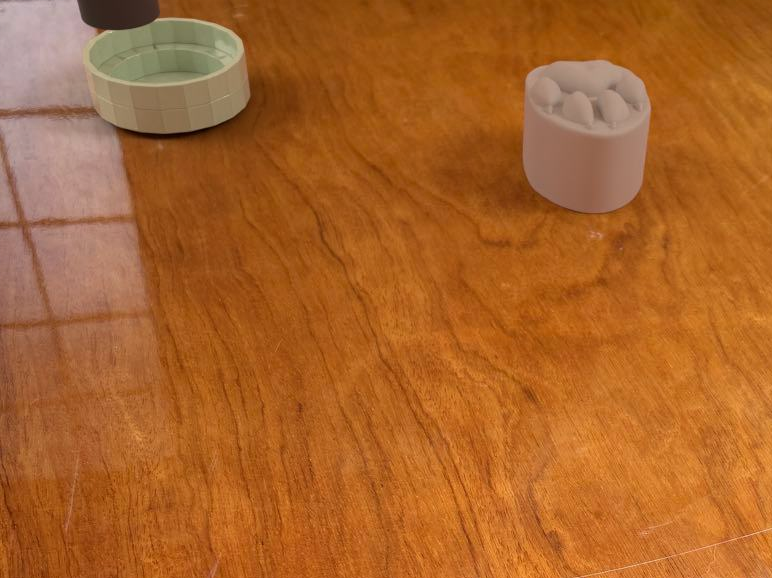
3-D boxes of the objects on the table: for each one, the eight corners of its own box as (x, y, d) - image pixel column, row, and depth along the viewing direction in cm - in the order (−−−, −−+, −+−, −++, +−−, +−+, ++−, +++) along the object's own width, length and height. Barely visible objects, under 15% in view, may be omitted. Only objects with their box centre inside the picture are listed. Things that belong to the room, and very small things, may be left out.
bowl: (162, 156, 103) (151, 102, 100) (63, 103, 109) (49, 50, 105) (282, 101, 111) (275, 49, 108) (183, 55, 117) (174, 4, 113)
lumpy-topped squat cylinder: (625, 136, 109) (634, 45, 103) (656, 210, 101) (669, 115, 94) (515, 141, 108) (518, 48, 102) (538, 216, 99) (543, 119, 93)
